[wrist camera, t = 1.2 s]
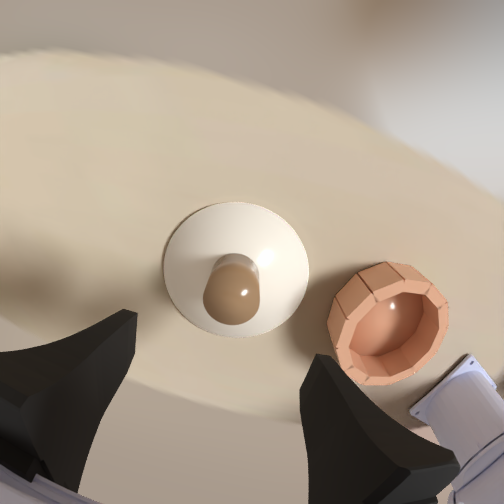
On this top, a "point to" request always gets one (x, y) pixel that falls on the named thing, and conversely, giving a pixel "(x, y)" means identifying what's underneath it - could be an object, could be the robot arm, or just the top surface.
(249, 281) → the lid
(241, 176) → the top surface
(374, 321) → the bowl
